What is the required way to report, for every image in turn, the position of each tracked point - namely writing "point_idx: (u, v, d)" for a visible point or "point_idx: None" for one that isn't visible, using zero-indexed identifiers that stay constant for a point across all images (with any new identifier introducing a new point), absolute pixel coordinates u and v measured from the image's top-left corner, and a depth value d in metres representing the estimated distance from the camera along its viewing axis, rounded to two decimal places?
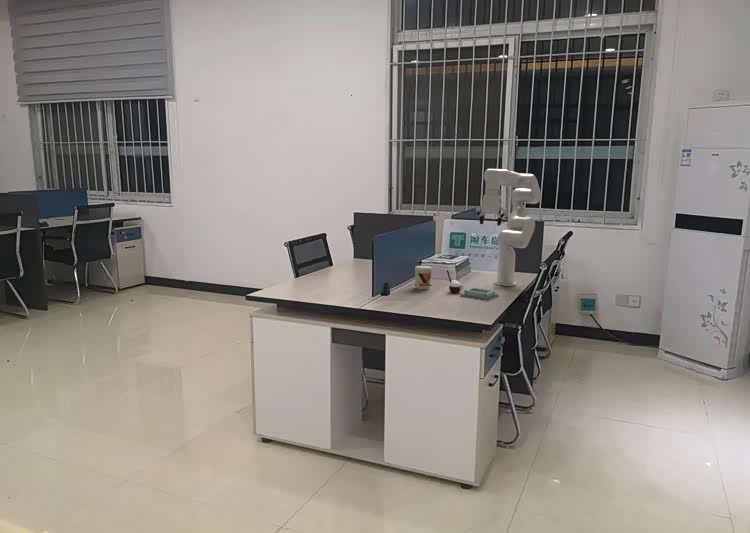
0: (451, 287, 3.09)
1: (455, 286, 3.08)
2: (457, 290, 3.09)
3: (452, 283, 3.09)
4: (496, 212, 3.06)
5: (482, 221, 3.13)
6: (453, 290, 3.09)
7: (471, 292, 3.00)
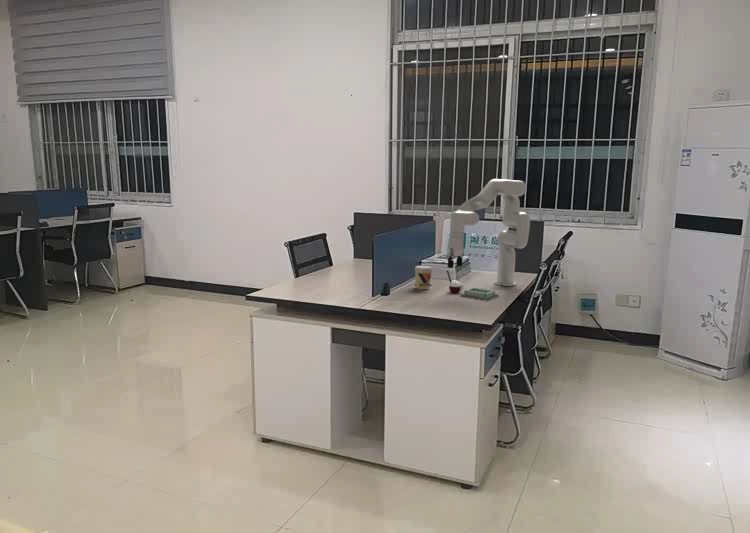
0: (451, 287, 3.09)
1: (455, 286, 3.08)
2: (457, 290, 3.09)
3: (452, 283, 3.09)
4: (462, 253, 3.10)
5: None
6: (453, 290, 3.09)
7: (471, 292, 3.00)
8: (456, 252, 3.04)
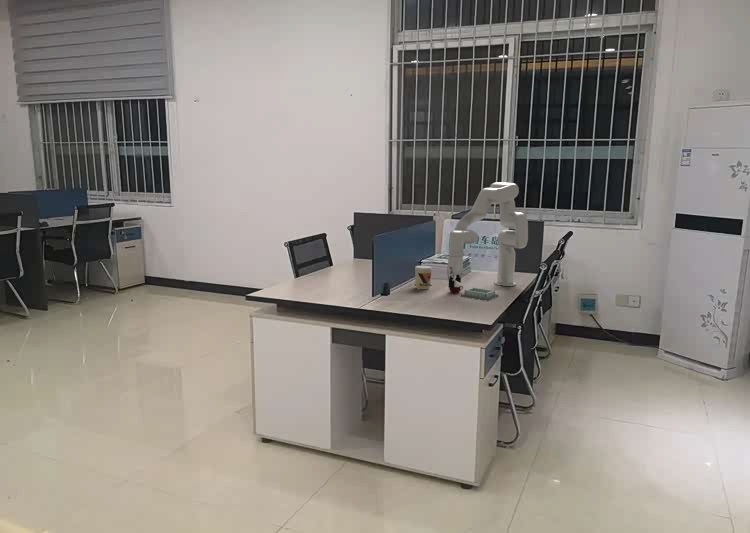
0: None
1: (455, 286, 3.08)
2: (457, 290, 3.09)
3: None
4: (461, 272, 3.12)
5: None
6: (453, 290, 3.09)
7: (471, 292, 3.00)
8: (456, 271, 3.06)
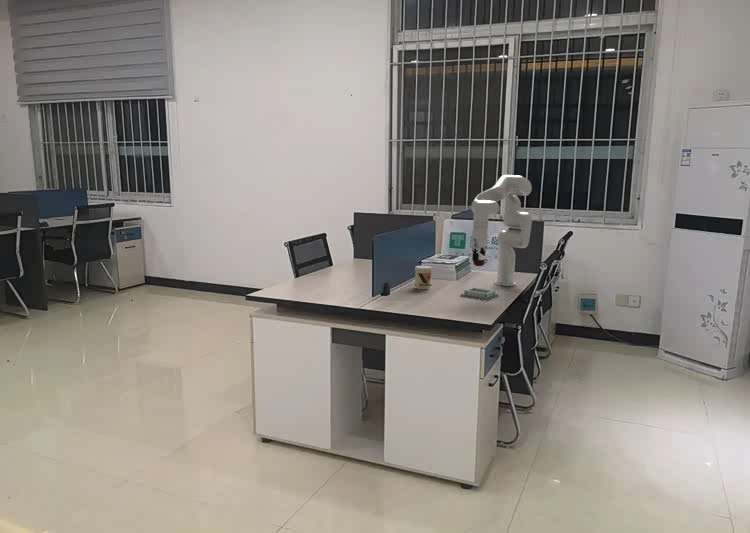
0: None
1: (479, 259, 2.98)
2: (481, 263, 2.99)
3: None
4: (486, 244, 3.01)
5: None
6: (477, 263, 2.99)
7: (471, 292, 3.00)
8: (480, 243, 2.96)
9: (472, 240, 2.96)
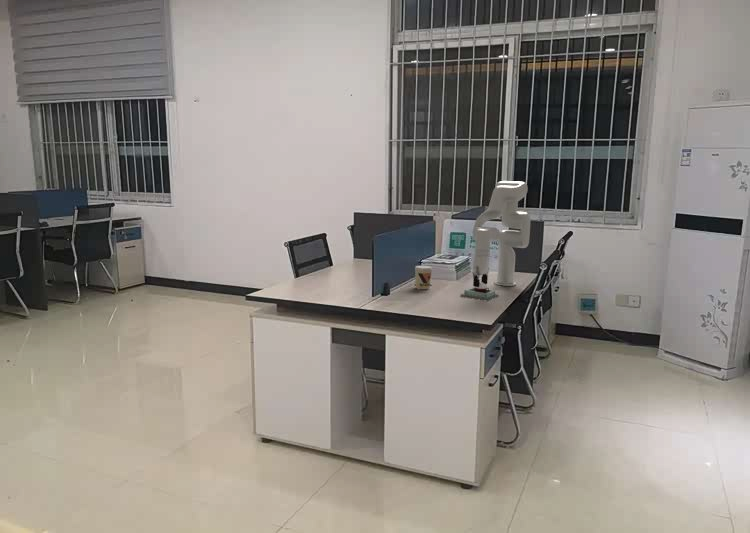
0: (477, 289, 3.00)
1: (481, 288, 2.99)
2: (483, 292, 3.00)
3: None
4: (487, 271, 3.03)
5: None
6: None
7: (471, 292, 3.00)
8: (482, 270, 2.97)
9: (474, 267, 2.97)
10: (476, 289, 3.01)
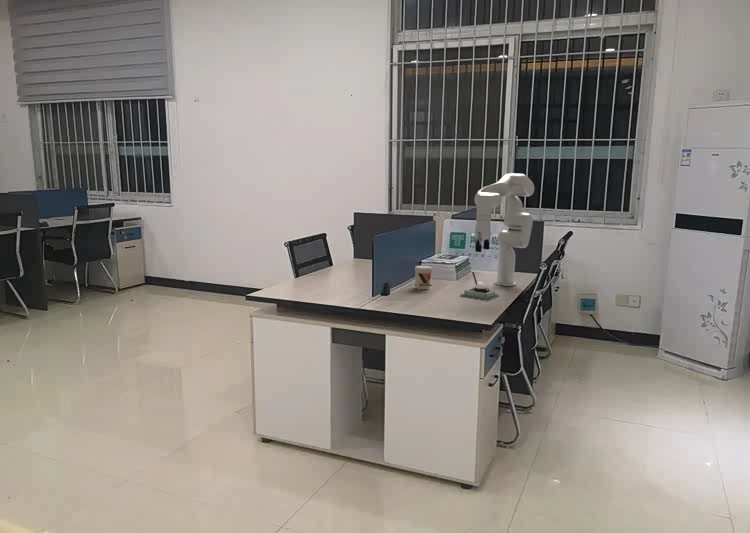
0: (477, 289, 3.00)
1: (481, 288, 2.99)
2: (483, 292, 3.00)
3: (478, 285, 3.00)
4: (489, 236, 3.04)
5: None
6: None
7: (471, 292, 3.00)
8: (484, 236, 2.98)
9: (476, 233, 2.99)
10: (476, 289, 3.01)
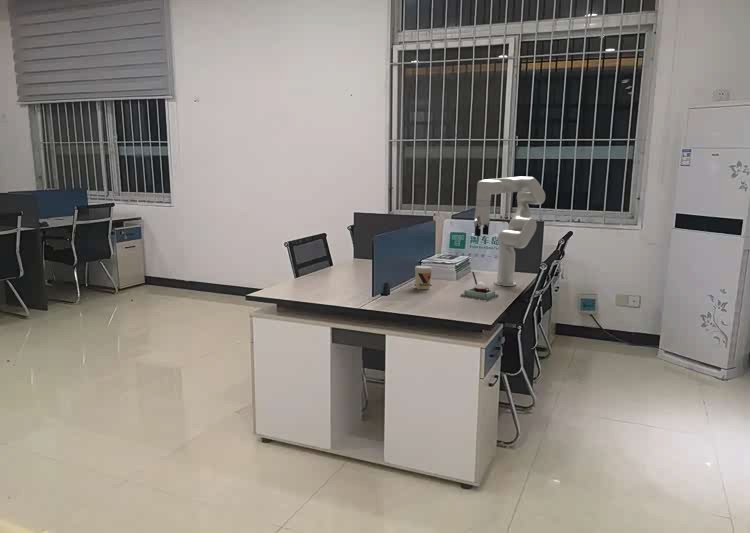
0: (477, 289, 3.00)
1: (481, 288, 2.99)
2: (483, 292, 3.00)
3: (478, 285, 3.00)
4: (488, 222, 3.15)
5: None
6: None
7: (471, 292, 3.00)
8: (483, 220, 3.09)
9: (475, 217, 3.10)
10: (476, 289, 3.01)
